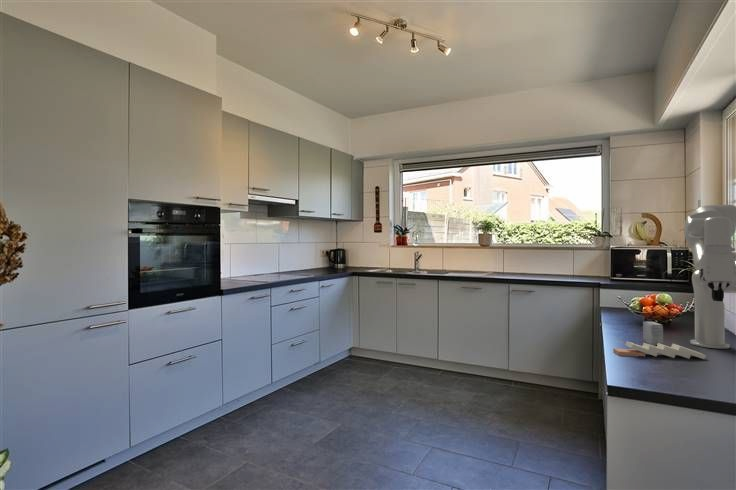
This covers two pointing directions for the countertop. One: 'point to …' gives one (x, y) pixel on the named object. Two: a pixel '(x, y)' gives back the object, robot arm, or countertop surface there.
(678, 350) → the domino
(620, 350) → the domino
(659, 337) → the medicine box
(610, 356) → the countertop surface
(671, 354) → the domino
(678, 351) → the domino
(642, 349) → the domino
